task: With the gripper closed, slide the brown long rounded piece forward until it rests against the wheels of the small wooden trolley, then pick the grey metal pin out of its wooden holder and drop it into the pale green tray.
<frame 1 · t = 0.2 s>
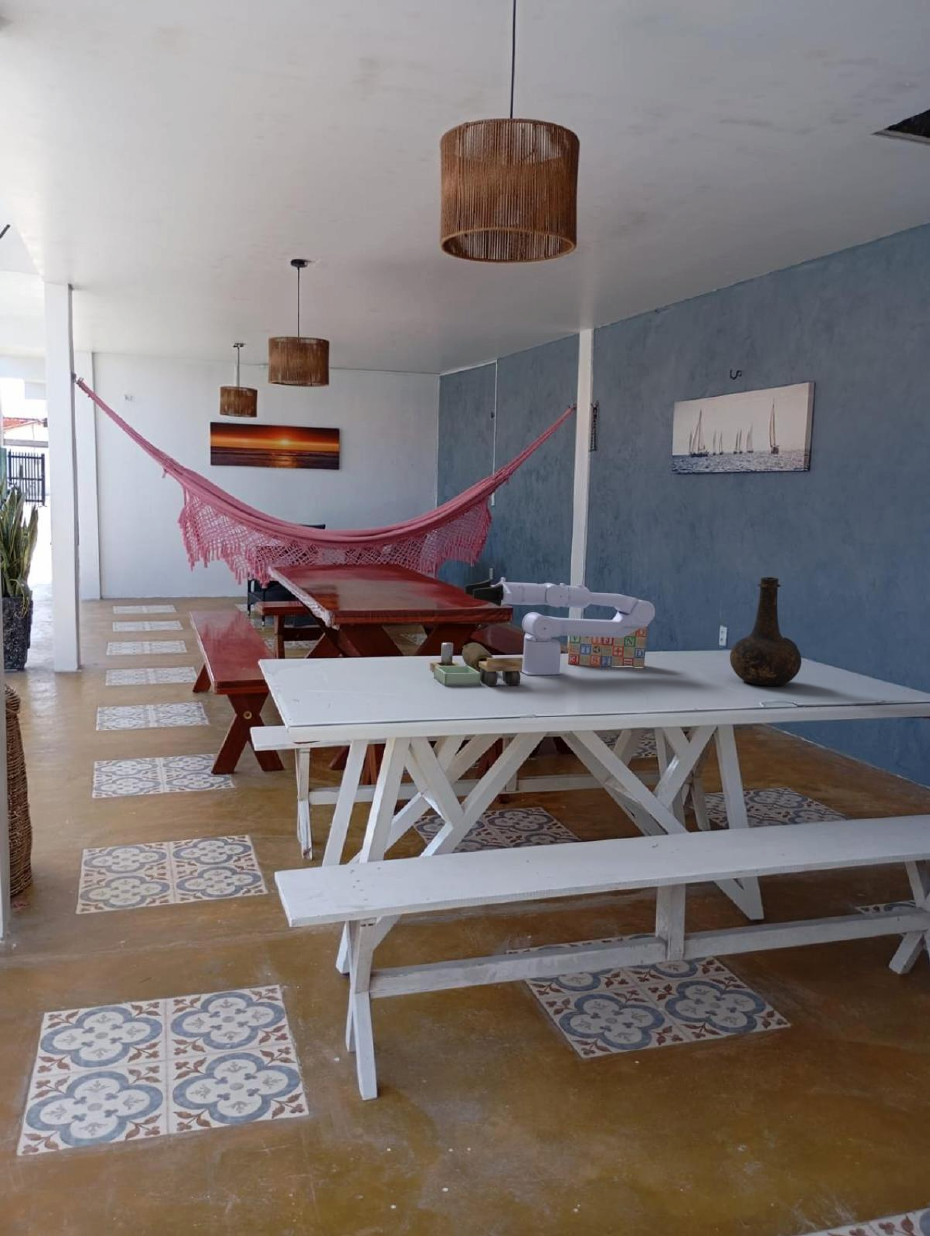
hand: (469, 591, 250), 21 cm above the table, tool horizontal, fingers open, 7 cm apart
pin: (446, 657, 253), in the pin holder
glass bottle: (763, 683, 257), on the table
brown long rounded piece: (476, 671, 259), on the table
pin holder: (446, 671, 254), on the table
stack of blocks: (605, 665, 275), on the table
trolley: (499, 683, 241), on the table
tray: (456, 681, 241), on the table
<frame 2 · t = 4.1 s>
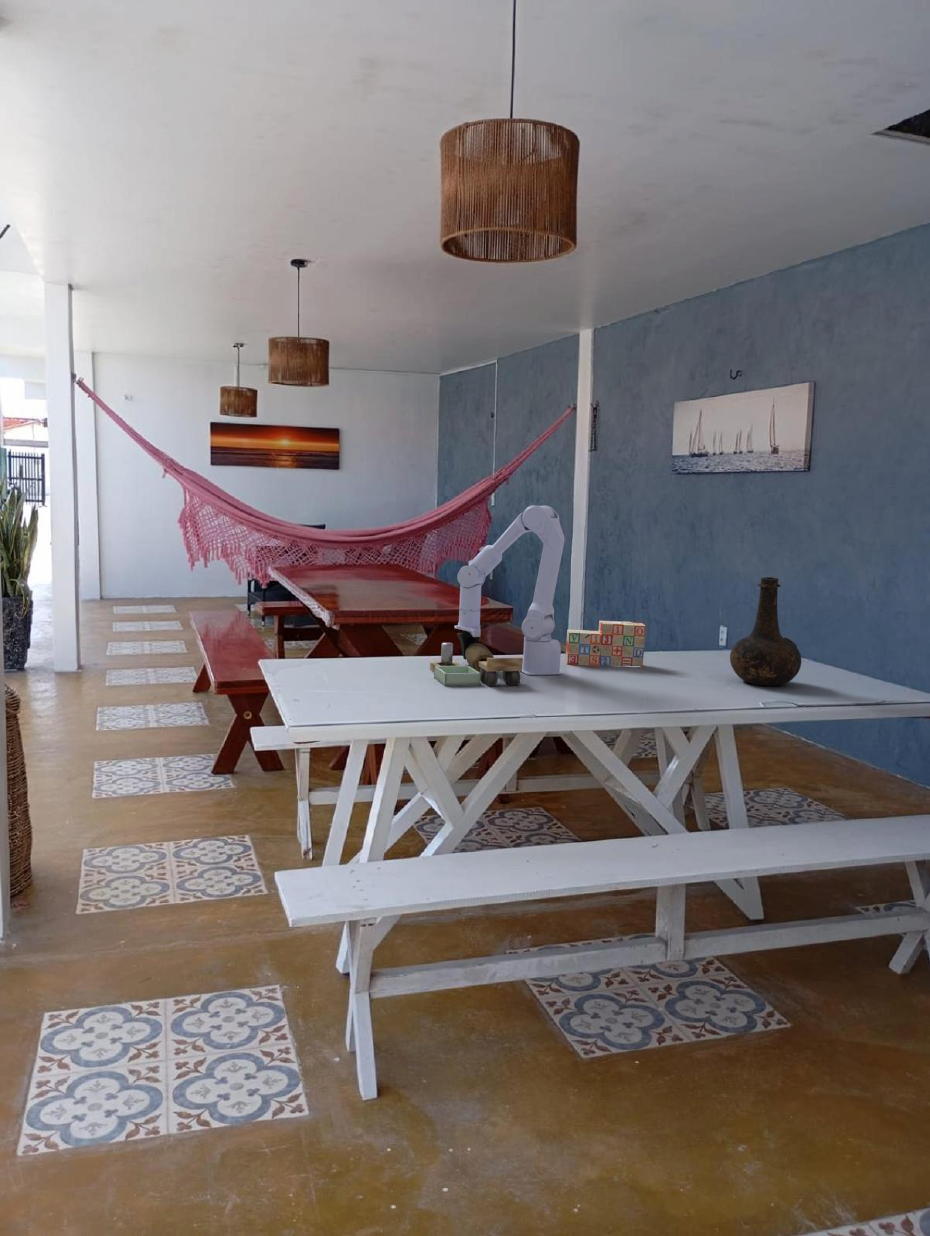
hand: (467, 659, 266), 1 cm above the table, tool pointing down, fingers closed
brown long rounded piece: (479, 671, 258), on the table, touching gripper
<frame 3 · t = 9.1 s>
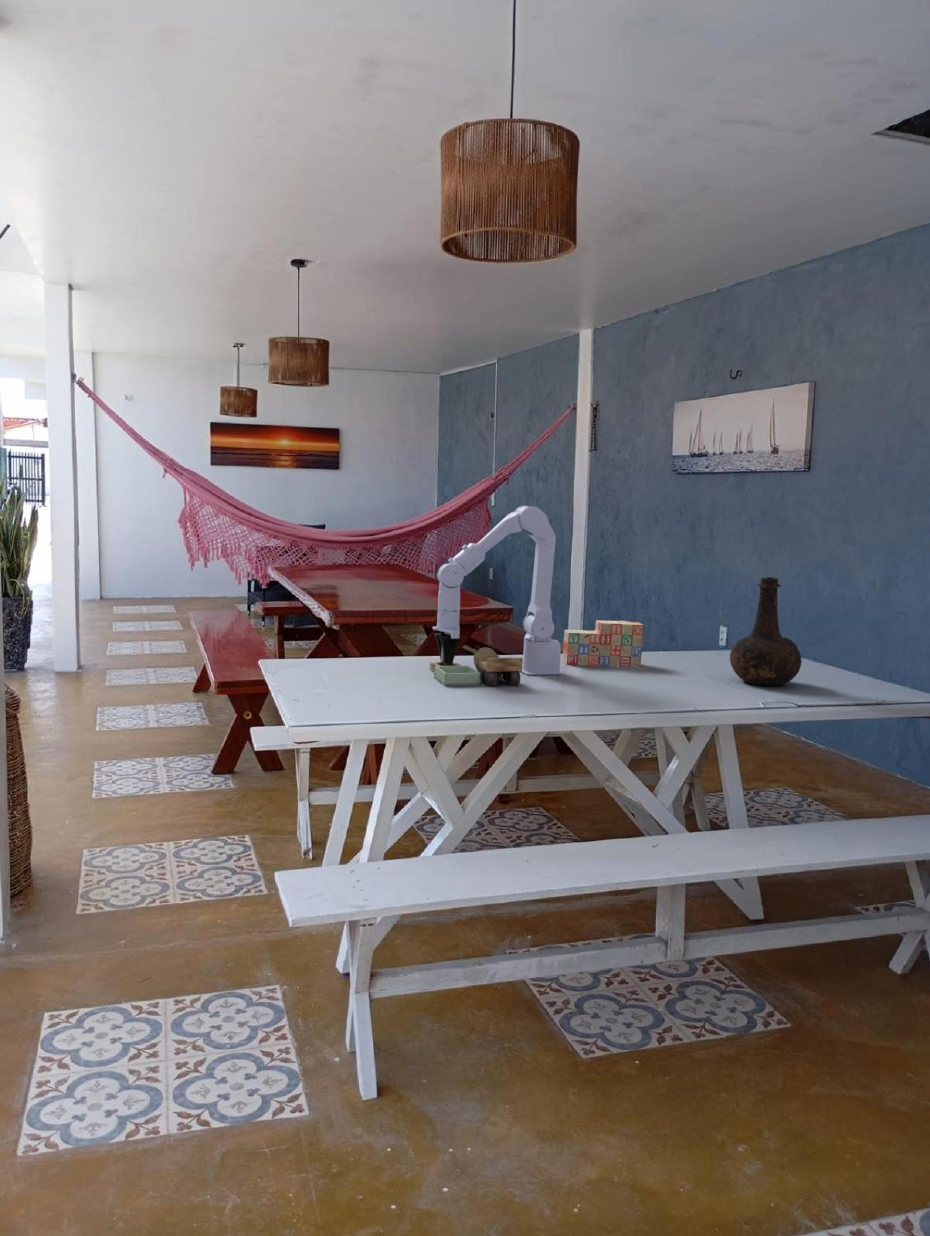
hand: (446, 661, 254), 3 cm above the table, tool pointing down, fingers closed on pin, 3 cm apart
pin: (446, 657, 253), in the pin holder, touching gripper
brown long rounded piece: (487, 676, 252), on the table
when the fingers open (5 cm above the table, at t = 11.9 s): pin drops 1 cm, resting on tray.
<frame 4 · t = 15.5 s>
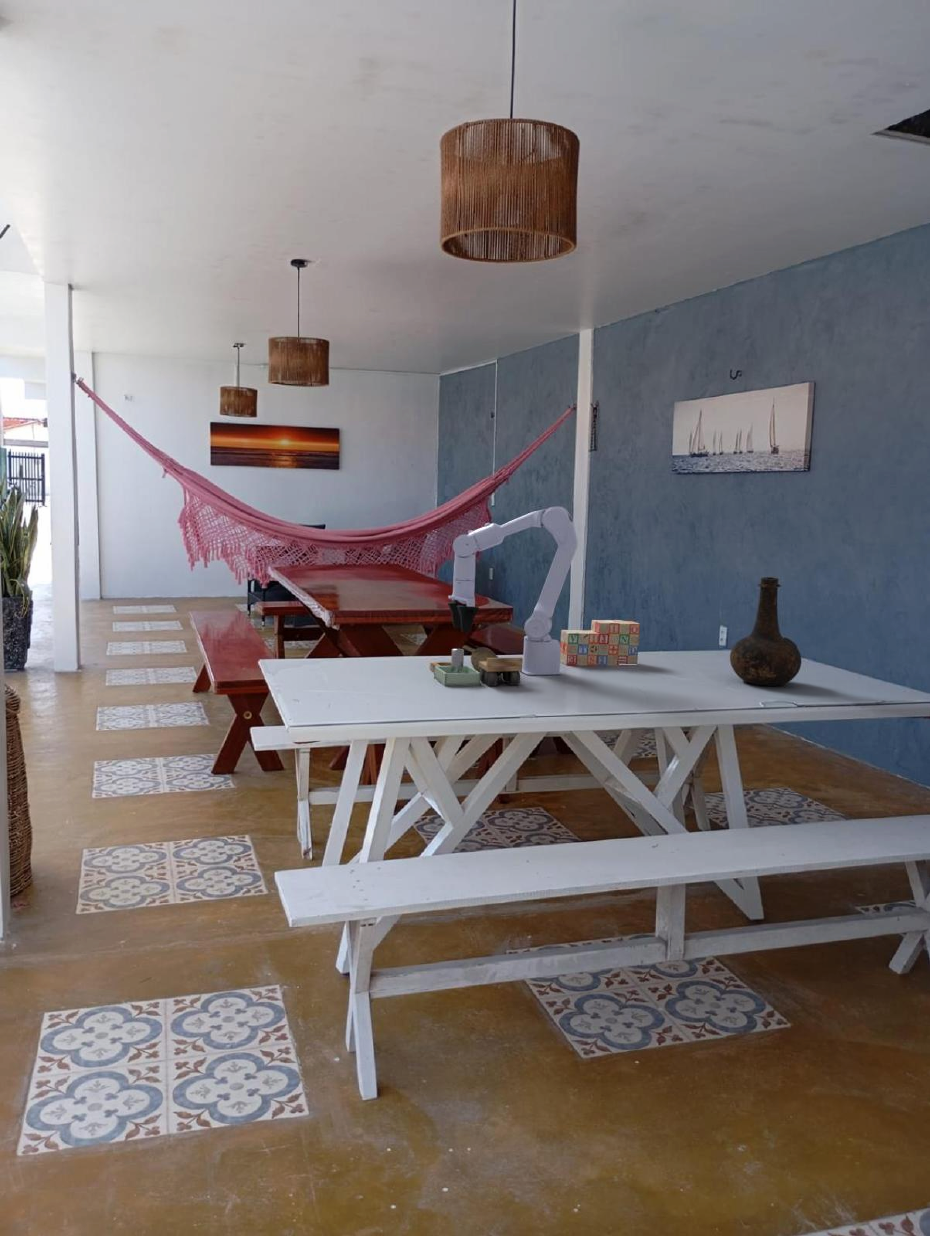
hand: (461, 630, 261), 10 cm above the table, tool pointing down, fingers open, 7 cm apart
pin: (457, 664, 241), in the tray, point 4 cm above the table
at the end: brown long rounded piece inside the target area (0.5 cm from its centre), on the table; pin inside the target area on the tray (0.1 cm from its centre), point 4.3 cm above the tray's base; the gripper is holding nothing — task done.
